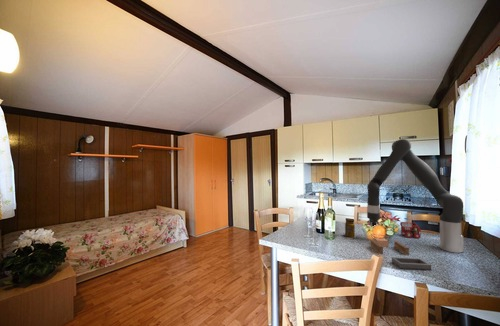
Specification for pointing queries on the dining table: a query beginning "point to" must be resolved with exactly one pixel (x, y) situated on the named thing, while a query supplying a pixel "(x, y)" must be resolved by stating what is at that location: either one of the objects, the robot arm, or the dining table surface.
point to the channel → (397, 246)
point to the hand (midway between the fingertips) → (373, 237)
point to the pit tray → (411, 263)
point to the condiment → (349, 229)
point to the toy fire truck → (410, 230)
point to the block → (381, 242)
